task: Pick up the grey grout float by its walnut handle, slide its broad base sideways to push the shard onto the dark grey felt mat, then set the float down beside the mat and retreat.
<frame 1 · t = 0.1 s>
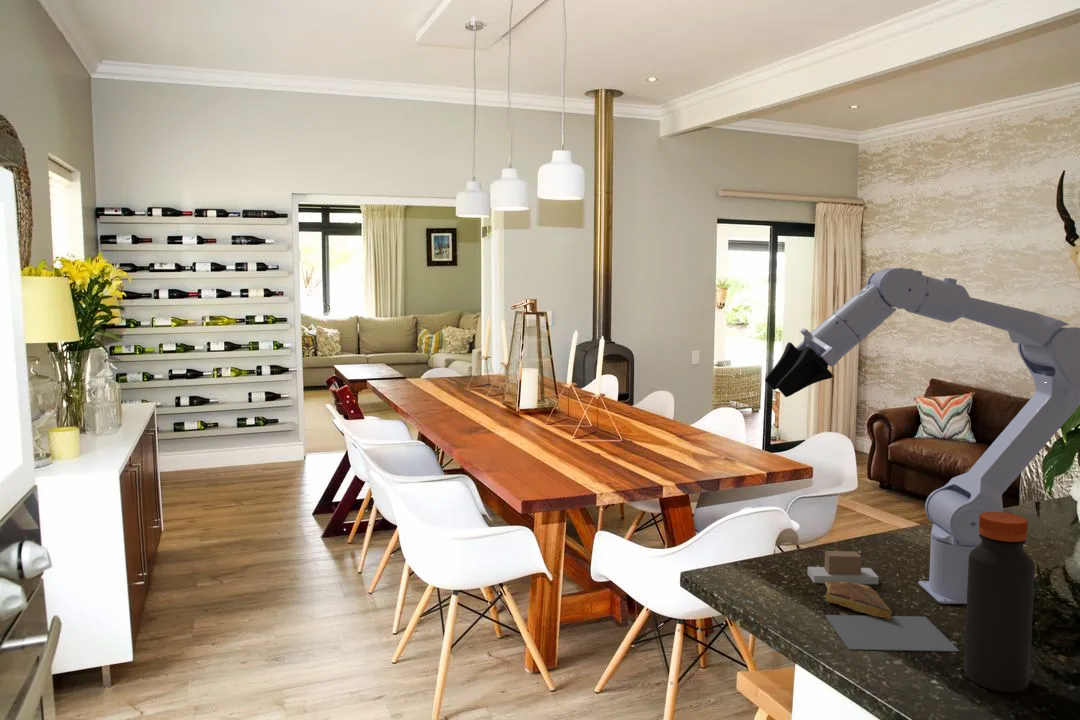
hand: (774, 388, 118), 32 cm above the table, tool tilted 50°, fingers open, 7 cm apart
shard: (863, 604, 116), on the table, touching felt mat
grout float: (842, 580, 126), on the table
bottle: (995, 681, 94), on the table
felt mat: (888, 632, 106), on the table
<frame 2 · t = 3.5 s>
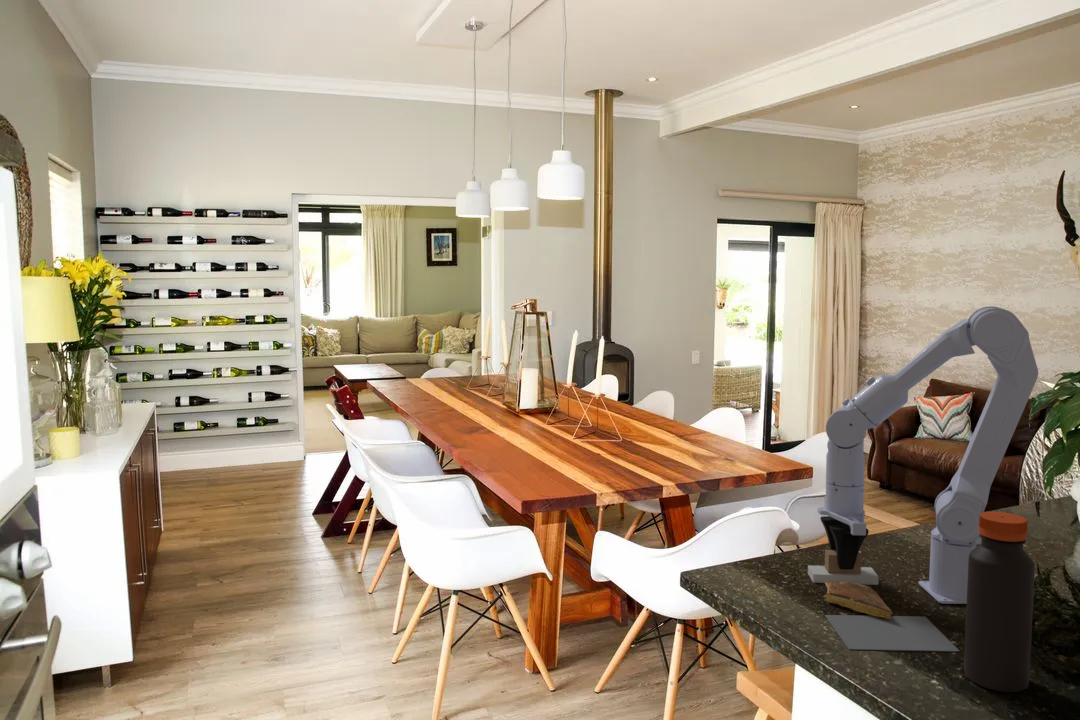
hand: (842, 565, 126), 2 cm above the table, tool pointing down, fingers open, 3 cm apart
grout float: (842, 579, 126), on the table, touching gripper
everything else where it was.
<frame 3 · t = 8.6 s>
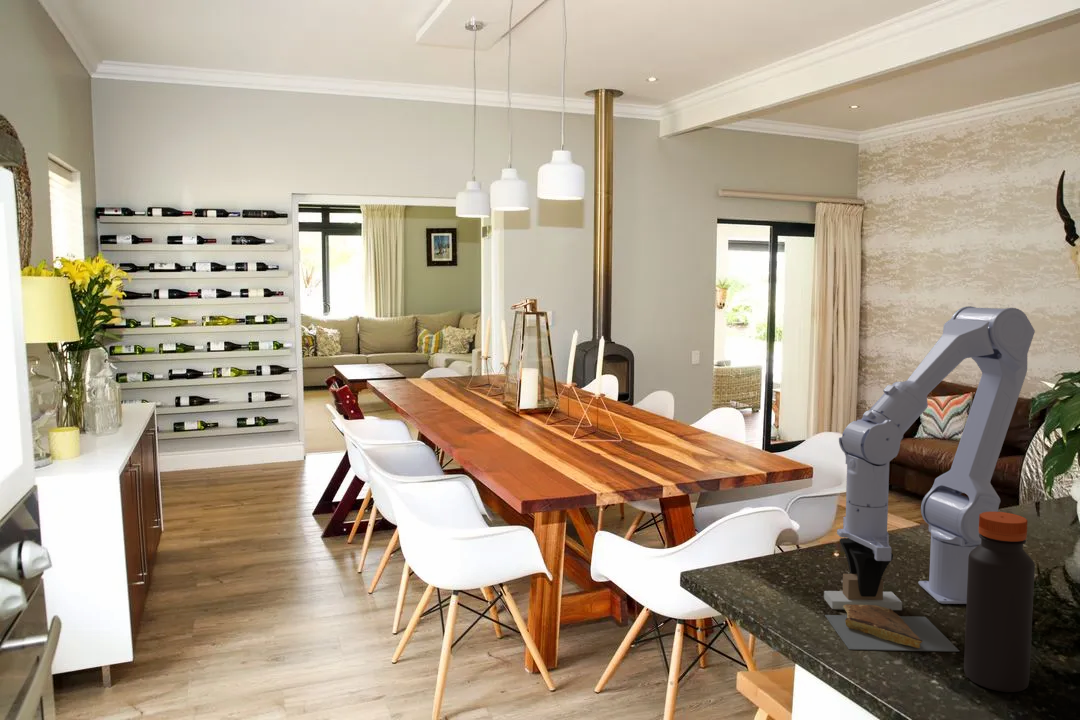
hand: (864, 591, 116), 2 cm above the table, tool pointing down, fingers closed on grout float, 3 cm apart
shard: (886, 630, 107), resting on felt mat
grout float: (862, 606, 116), on the table, touching gripper
everything else where it was.
when the fingers open (2 cm above the table, at t = 8.8 s): grout float stays where it is, on the table.
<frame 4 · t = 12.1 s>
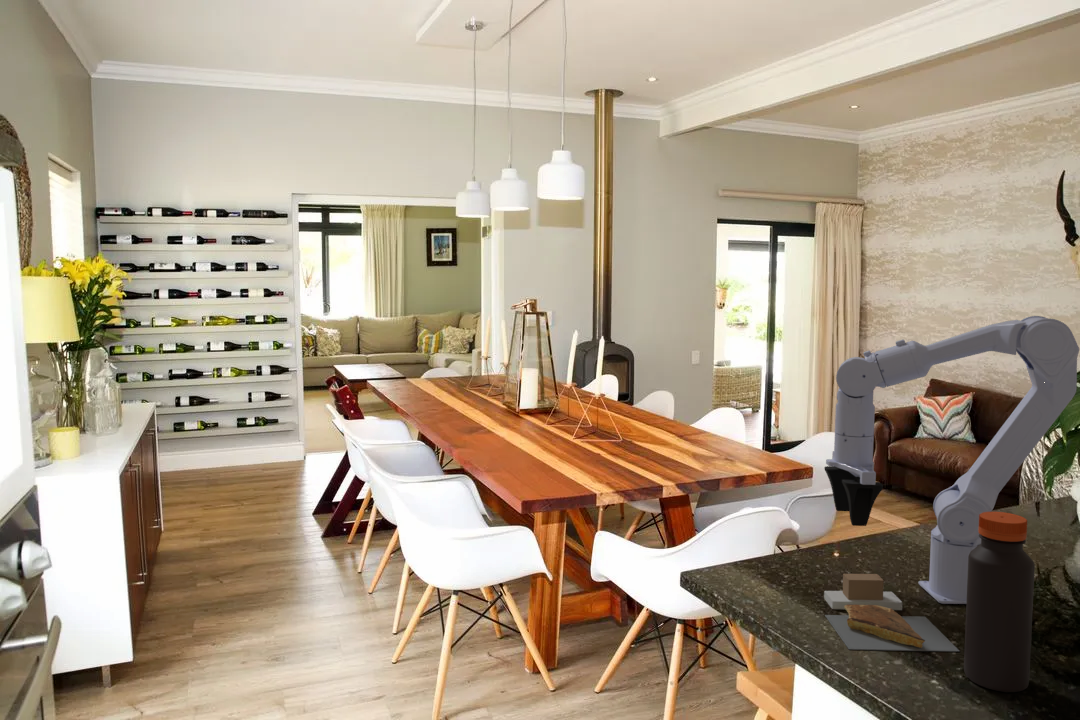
hand: (850, 517, 124), 10 cm above the table, tool pointing down, fingers open, 7 cm apart
grout float: (862, 606, 116), on the table
everything else where it was.
at the end: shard inside the target area on the felt mat (1.2 cm from its centre), point 0.0 cm above the felt mat's base; the gripper is holding nothing; grout float tilted 0° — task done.
